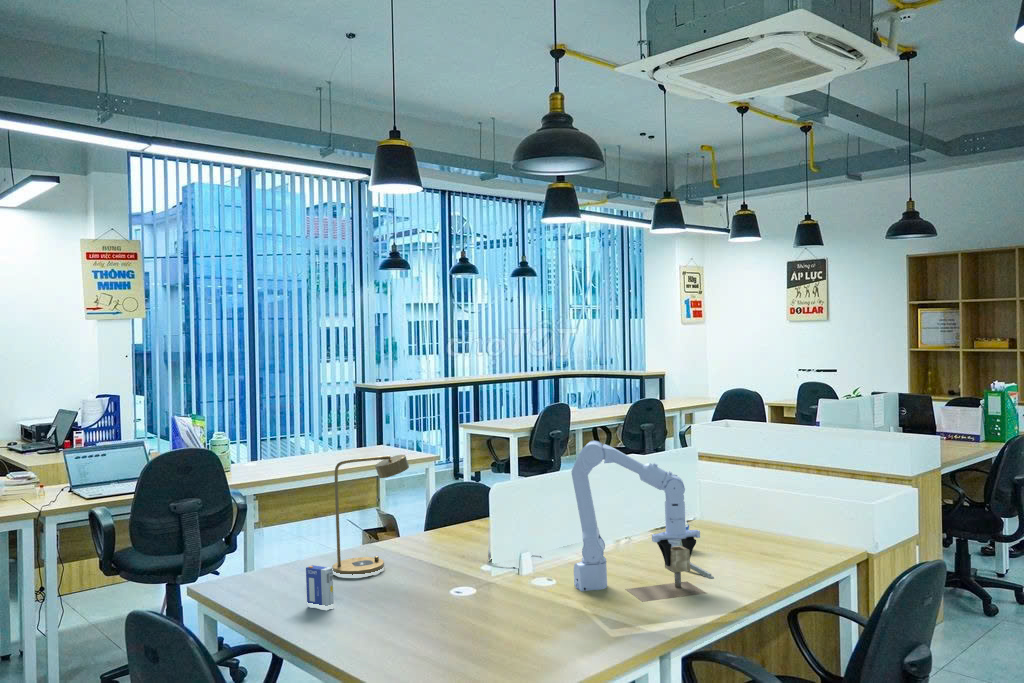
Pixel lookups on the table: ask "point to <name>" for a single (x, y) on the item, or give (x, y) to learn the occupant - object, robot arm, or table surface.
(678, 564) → the hollow square tube
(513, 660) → the table surface
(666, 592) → the brown board with peg
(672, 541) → the medicine box
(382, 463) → the lamp
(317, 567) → the walkman
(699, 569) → the caliper
